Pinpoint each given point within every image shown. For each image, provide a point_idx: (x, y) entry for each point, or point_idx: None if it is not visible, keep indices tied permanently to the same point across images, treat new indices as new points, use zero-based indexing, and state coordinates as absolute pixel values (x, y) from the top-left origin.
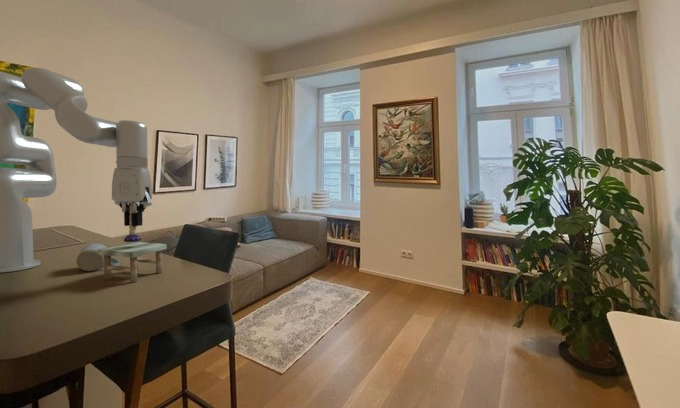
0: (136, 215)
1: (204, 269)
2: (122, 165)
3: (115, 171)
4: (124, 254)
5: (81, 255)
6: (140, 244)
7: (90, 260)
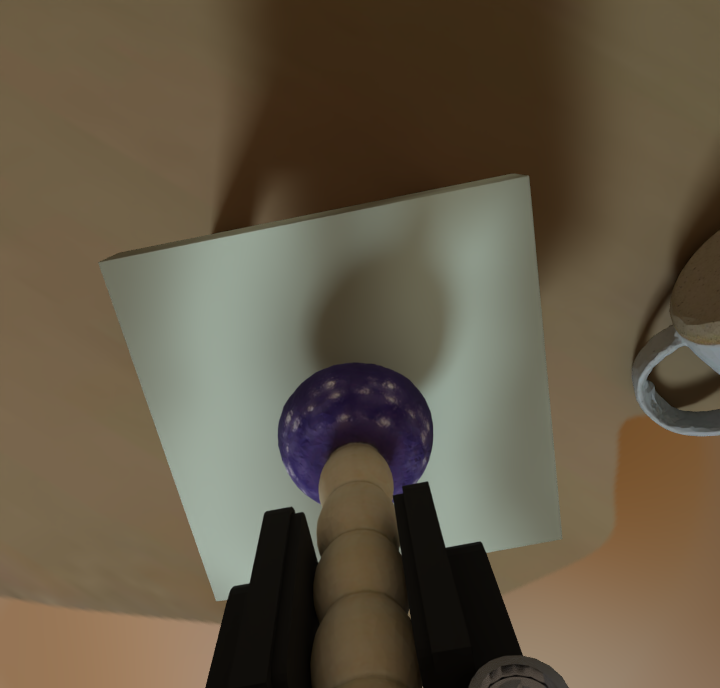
0: (223, 685)
1: (111, 589)
2: None
3: None
4: (205, 237)
5: None
6: None
7: None
